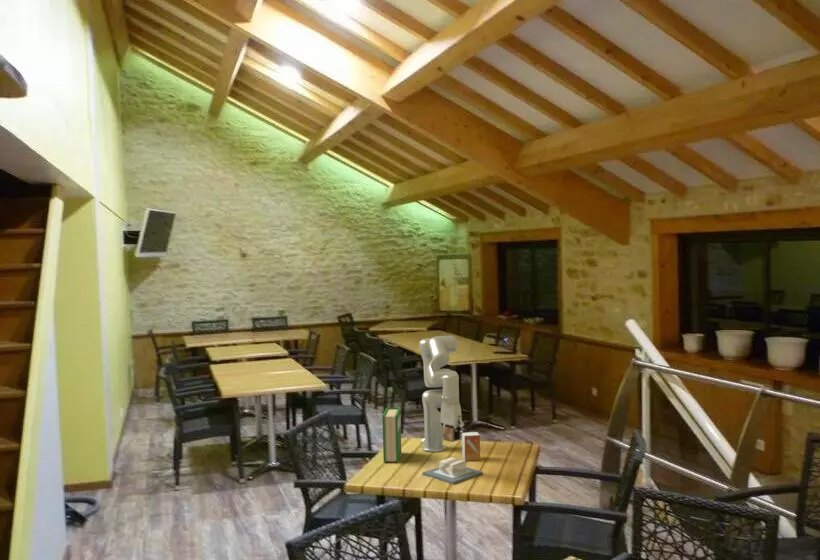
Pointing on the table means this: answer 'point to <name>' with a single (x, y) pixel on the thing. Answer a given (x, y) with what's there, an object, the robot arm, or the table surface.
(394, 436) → the hardback book
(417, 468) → the table surface
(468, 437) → the small box
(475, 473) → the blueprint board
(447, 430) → the walnut cube
